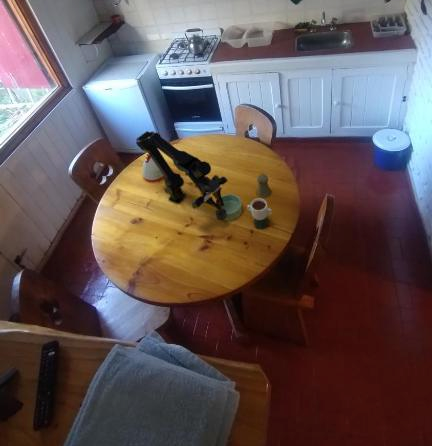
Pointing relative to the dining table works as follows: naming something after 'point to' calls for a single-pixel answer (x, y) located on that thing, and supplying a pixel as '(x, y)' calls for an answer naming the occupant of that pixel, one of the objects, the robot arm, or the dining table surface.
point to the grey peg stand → (220, 211)
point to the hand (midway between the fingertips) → (221, 207)
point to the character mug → (259, 212)
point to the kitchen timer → (151, 170)
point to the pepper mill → (263, 185)
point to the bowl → (232, 206)
